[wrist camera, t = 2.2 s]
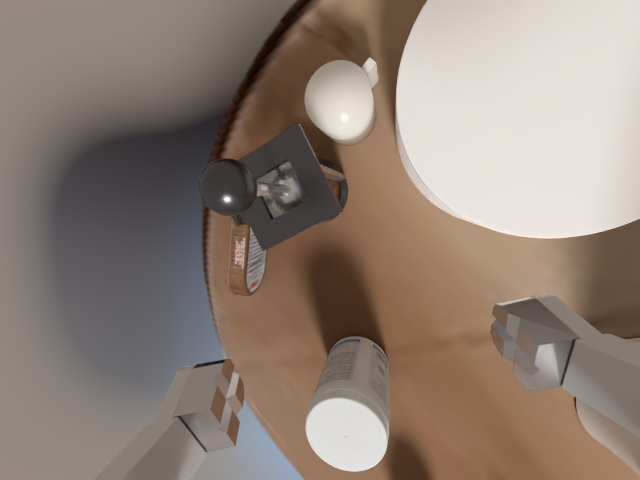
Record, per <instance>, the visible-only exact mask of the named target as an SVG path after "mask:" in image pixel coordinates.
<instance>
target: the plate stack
mask: <svg viewBox="0 0 640 480" xmlns="http://www.w3.org/2000/svg"><path fill="white" fill-rule="evenodd" d="M395 128H396V140H397V146H398V151H399V154H400V158H401V161H402V163H403V166H404V168H405V170H406V172H407V174H408V176H409V177H410V179H411V180H412V182H413V183H414V185H415V186H416V187H417V188H418V190H419V191H420V192H421V193H422V194H423V195H424V196H425V197H426V198H427V199H428V200H429V201H431V202H432V203H433V204H434V205H436V206H437V207H439V208H440V209H442V210H443V211H445V212H447V213H449V214H451V215H453V216H455V217H458V218H460V219H463V220H466V221H469V222H472V223H474V224H477V225H480V226H483V227H486V228H489V229H492V230H495V231H499V232H502V233H506V234H511V235H516V236H523V237H532V238H566V237H576V236H582V235H588V234H593V233H598V232H602V231H606V230H610V229H613V228H616V227H619V226H622V225H625V224H628V223H631V222H633V221H636V220H638V219H640V0H427V1H426V3H425V5H424V6H423V8H422V10H421V11H420V13H419V15H418V17H417V19H416V21H415V23H414V25H413V27H412V29H411V32H410V34H409V37H408V39H407V42H406V45H405V48H404V51H403V54H402V58H401V62H400V66H399V71H398V78H397V87H396V123H395Z"/></svg>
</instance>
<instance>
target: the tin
mask: <svg viewBox="0 0 640 480" xmlns="http://www.w3.org/2000/svg"><path fill="white" fill-rule="evenodd" d="M266 256H267V249H266V250H264V251H262V249H261V247H260V245H259V243H258V241H257V239H256V237H255V235H254V233H253V231H252V229H251V227H250V225H249V224H247V225H242V226H236V224H235V222H234V220H233V218H232V221H231V233H230V249H229V263H228V287H229V290H230V292H231V293H232V294H234V295H243V296H251V295H252V294H254V293H255V291H256V290H257V289H258V288H259V287H260V285H261V282H262V279H263V276H264V272H265V266H266Z"/></svg>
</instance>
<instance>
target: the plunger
mask: <svg viewBox="0 0 640 480" xmlns="http://www.w3.org/2000/svg"><path fill="white" fill-rule="evenodd" d="M198 188H199V193H200V196H201V199H202V200H203V202H204V203H205V205H206V206H207V207H208V208H209V209H211V210H212V211H214V212H216V213H218V214H221V215H225V216H234V215H238V214H241V213H243V212H245V211H247V210H248V209H249V208H250V207H251V206H252V205H253V203H254V201H255V199H256V196H263V198H264V200H265V202H266V204H267V206H268V208H269V210H270V212H271V214H272V216H273V218H276V217H278V216H280V215H282V214H284V213H285V212H287V211H289V210H291V209H293V208H295V207H297V206H298V205H300V204H302V203H304V202H306V201H308V198H307V196H306V194H305V192H304V190H303V188H302V186H301V184H300V182H299V180H298V178H297V176H296V174H295V172H294V170H293V168H292V166H291V164H290V162H289V161H288V162H286V163H284V164H283V165H281V166H279V167H278V168H276V169H274V170H273V171H271V172H269V173H268V174H266V175H264V176H263V177H261V178H259V179H258V180H257V181H256V178H255V176H254V174H253V173H252V171H251V170H250V169H249V168H248V167H247V166H246V165H245V164H243V163H242V162H240V161H237V160H234V159H219V160H216V161H214V162H212V163H210V164H209V165H208V166H206V168H205V169H204V170H203V171H202V174H201V175H200V178H199V184H198Z"/></svg>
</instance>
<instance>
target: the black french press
mask: <svg viewBox="0 0 640 480" xmlns="http://www.w3.org/2000/svg"><path fill="white" fill-rule="evenodd" d="M239 161H240V162H242V163H243V164H245V165H246V166H247V167H248V168H249V169H250V170H251V171H252V173H253V174H254V176H255V178H256V180H258V179H259V178H261V177H263V176H264V175H266V174H268V173H269V172H271V171H273V170H274V169H276V168H278V167H279V166H281V165H283V164H284V163H286V162H288V161H289V162H290V164H291V166H292V168H293V170H294V172H295V174H296V176H297V178H298V180H299V182H300V184H301V186H302V188H303V190H304V192H305V194H306V196H307V198H308V201H306V202H304V203H302V204H300V205H298V206H297V207H295V208H293V209H291V210H289V211H287V212H285V213H284V214H282V215H280V216H278V217H276V218H273V216H272V214H271V212H270V210H269V208H268V206H267V204H266V202H265V200H264V198H263V196H256V199H255V201H254V203H253V205H252V206H251V207H250V208H249V209H248V210H247V211H245V212H243V213H241V214H238V215H234V216H232V218H233V220H234V222H235V224H236V226H242V225H247V224H249V225H250V227H251V229H252V231H253V233H254V235H255V237H256V239H257V241H258V243H259V245H260V247H261V249H262V251H264V250H266V249H268V248H270V247H272V246H274V245H276V244H278V243H280V242H282V241H284V240H286V239H288V238H290V237H292V236H294V235H296V234H298V233H300V232H303V231H305V230H308V229H311V228H313V227H316V226H318V225H321V224H323V223H326V222H328V221H330V220H332V219H334V218H335V217H336V216H338V214H339V213H340V212H342V211H343V208H344V206H345V204H346V201H347V196H348V186H347V182H346V179H345V176H344V174H343V173H342V172H341V170H340V169H339V168H338V167H337V166H335V165H334V164H333V163H331V162H329V161H326V160H323V159H317V157H316V155H315V153H314V151H313V149H312V147H311V145H310V143H309V141H308V139H307V137H306V135H305V133H304V131H303V129H302V127H301V125H300V124H299V123H297V124H295V125H293V126H292V127H290V128H289V129H287V130H286V131H284V132H282V133H281V134H279V135H278V136H276V137H275V138H273V139H271V140H270V141H268V142H267V143H265V144H264V145H262V146H261V147H259V148H257V149H256V150H254V151H253V152H251V153H250V154H248V155H246V156H245V157H243V158H242V159H240V160H239Z"/></svg>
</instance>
